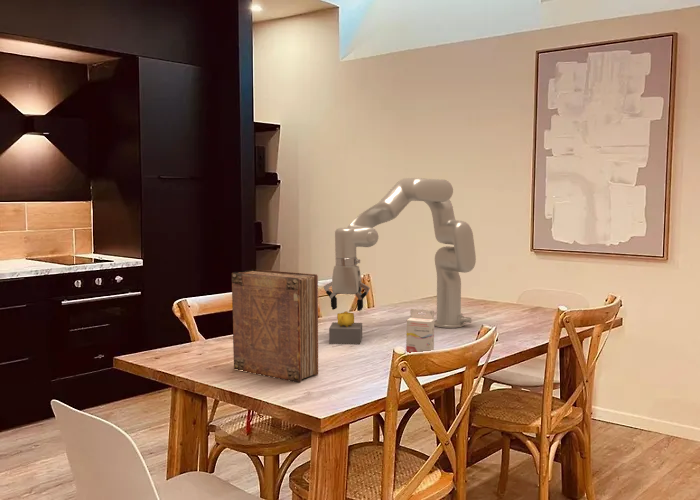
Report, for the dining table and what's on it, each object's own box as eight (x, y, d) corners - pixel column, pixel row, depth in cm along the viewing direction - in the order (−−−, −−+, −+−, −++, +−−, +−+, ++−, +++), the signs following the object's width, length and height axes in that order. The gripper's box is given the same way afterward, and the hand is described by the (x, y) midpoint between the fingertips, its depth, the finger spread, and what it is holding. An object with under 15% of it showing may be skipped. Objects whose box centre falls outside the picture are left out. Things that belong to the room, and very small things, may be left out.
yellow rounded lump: (344, 322, 253) (344, 308, 252) (357, 324, 250) (357, 310, 249) (331, 326, 246) (331, 312, 246) (345, 328, 243) (345, 313, 243)
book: (319, 375, 203) (318, 274, 200) (300, 382, 195) (299, 278, 192) (253, 363, 216) (252, 269, 214) (233, 370, 209) (231, 272, 206)
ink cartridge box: (405, 354, 227) (405, 310, 226) (409, 351, 232) (409, 308, 231) (431, 356, 225) (431, 312, 223) (434, 353, 229) (434, 309, 228)
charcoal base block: (362, 338, 253) (362, 322, 253) (360, 345, 242) (360, 328, 242) (332, 338, 254) (332, 322, 254) (329, 345, 243) (329, 328, 243)
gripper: (372, 261, 246) (373, 308, 248) (327, 260, 252) (328, 306, 254) (365, 264, 239) (366, 312, 241) (319, 263, 245) (320, 310, 247)
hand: (346, 309), depth 247 cm, fingers open, 9 cm apart
